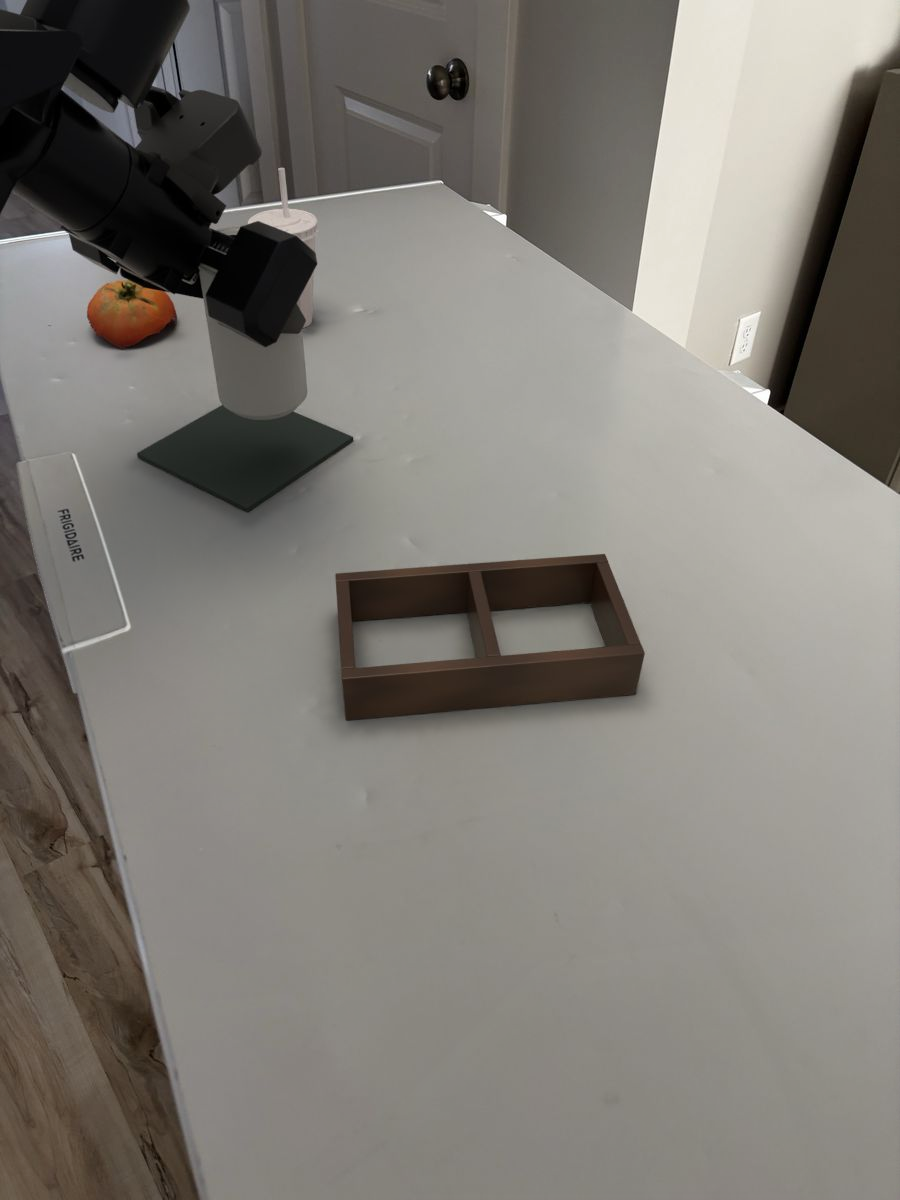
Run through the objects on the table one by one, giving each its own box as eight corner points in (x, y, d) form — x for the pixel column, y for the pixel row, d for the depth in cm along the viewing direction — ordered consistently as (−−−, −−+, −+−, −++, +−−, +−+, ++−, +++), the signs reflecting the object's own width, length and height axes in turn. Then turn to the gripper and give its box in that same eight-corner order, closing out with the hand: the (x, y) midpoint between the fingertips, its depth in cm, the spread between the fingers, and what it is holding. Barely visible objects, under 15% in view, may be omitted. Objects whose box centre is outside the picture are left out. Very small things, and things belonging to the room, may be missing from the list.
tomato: (72, 338, 84) (82, 258, 84) (92, 356, 91) (101, 283, 91) (163, 351, 85) (172, 272, 85) (176, 369, 92) (184, 296, 92)
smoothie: (339, 317, 91) (328, 167, 82) (297, 342, 87) (281, 187, 78) (288, 301, 94) (273, 154, 84) (246, 325, 90) (224, 173, 80)
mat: (137, 457, 73) (136, 453, 72) (246, 395, 80) (246, 391, 80) (247, 512, 68) (247, 508, 67) (353, 440, 75) (353, 436, 75)
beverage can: (232, 379, 71) (208, 218, 63) (316, 384, 70) (303, 223, 62) (210, 422, 66) (181, 255, 58) (299, 428, 66) (283, 260, 58)
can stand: (345, 720, 53) (341, 679, 51) (338, 614, 60) (335, 573, 57) (636, 694, 55) (645, 653, 53) (598, 593, 62) (605, 553, 59)
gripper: (274, 80, 46) (424, 243, 59) (65, 22, 55) (237, 176, 68) (170, 282, 47) (341, 397, 60) (-19, 192, 56) (167, 310, 69)
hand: (269, 311), depth 64 cm, fingers closed on beverage can, 6 cm apart
